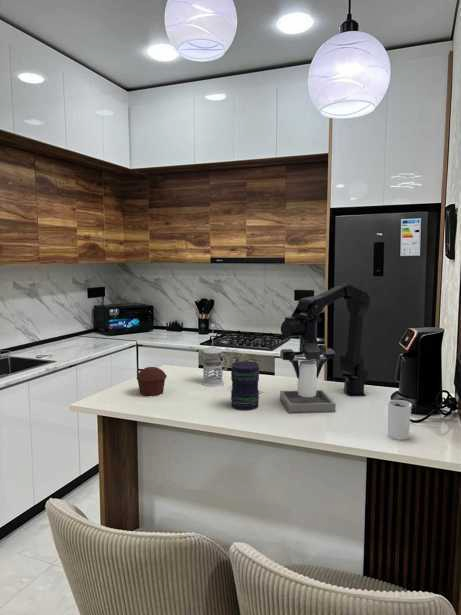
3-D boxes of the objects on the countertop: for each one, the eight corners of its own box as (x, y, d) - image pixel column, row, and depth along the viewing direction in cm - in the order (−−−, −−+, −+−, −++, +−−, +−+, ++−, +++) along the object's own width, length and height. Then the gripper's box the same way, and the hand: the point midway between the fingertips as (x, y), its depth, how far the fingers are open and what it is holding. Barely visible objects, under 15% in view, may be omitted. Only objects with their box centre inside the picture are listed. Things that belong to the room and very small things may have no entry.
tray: (322, 397, 174) (322, 389, 174) (335, 412, 158) (335, 403, 158) (279, 398, 172) (280, 390, 172) (289, 413, 157) (289, 404, 156)
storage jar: (263, 404, 166) (263, 363, 165) (251, 412, 158) (251, 369, 156) (238, 400, 171) (238, 360, 169) (225, 407, 162) (226, 366, 161)
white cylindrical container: (381, 435, 138) (383, 402, 137) (394, 430, 142) (396, 398, 141) (401, 442, 133) (403, 408, 132) (414, 436, 137) (416, 404, 136)
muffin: (130, 394, 178) (129, 368, 177) (150, 387, 187) (150, 363, 186) (153, 399, 171) (152, 373, 170) (173, 392, 180) (172, 367, 179)
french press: (199, 380, 197) (198, 322, 194) (225, 379, 199) (225, 321, 196) (203, 387, 187) (202, 326, 184) (231, 385, 190) (231, 325, 187)
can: (305, 399, 161) (305, 365, 159) (294, 394, 166) (294, 361, 165) (320, 396, 164) (320, 363, 162) (308, 391, 169) (309, 359, 168)
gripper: (286, 339, 154) (286, 385, 155) (341, 338, 155) (340, 383, 157) (280, 333, 165) (279, 376, 166) (331, 332, 166) (330, 375, 168)
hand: (307, 377), depth 164 cm, fingers closed on can, 6 cm apart
